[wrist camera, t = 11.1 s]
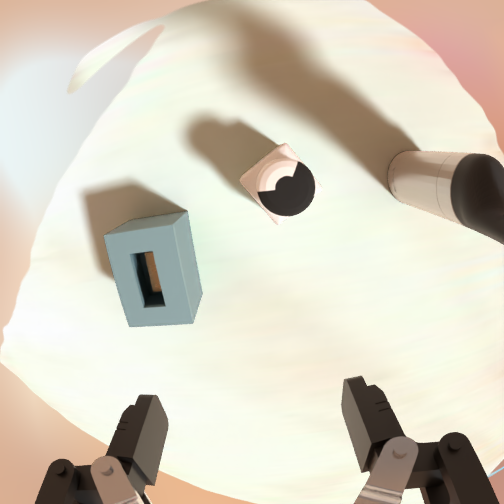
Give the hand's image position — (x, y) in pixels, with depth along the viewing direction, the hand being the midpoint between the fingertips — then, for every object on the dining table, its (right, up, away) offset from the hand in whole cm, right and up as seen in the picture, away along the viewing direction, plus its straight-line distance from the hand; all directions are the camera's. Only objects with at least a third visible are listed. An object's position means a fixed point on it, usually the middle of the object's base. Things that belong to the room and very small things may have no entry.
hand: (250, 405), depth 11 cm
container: (+4, +17, +33) cm, 37 cm away
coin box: (-14, +6, +36) cm, 39 cm away
